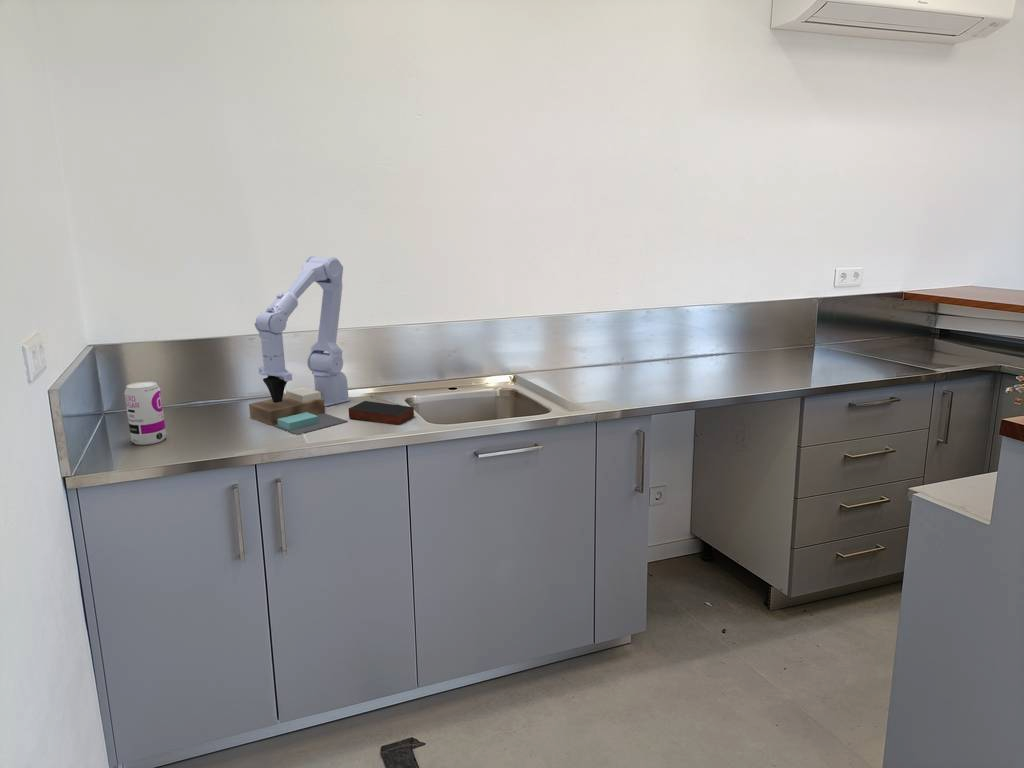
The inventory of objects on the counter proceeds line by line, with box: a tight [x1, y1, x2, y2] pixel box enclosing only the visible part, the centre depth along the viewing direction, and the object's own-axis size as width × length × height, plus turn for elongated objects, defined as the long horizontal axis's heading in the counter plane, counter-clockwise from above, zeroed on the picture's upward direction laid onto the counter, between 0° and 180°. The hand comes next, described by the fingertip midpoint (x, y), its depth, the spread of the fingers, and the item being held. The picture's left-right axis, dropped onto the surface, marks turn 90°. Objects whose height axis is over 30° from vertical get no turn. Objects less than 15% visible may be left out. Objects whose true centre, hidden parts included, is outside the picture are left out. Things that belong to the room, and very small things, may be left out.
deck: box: [248, 395, 326, 427], centre depth 210 cm, size 17×12×4 cm
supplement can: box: [124, 381, 167, 446], centre depth 187 cm, size 8×8×15 cm
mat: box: [272, 412, 349, 435], centre depth 202 cm, size 16×12×1 cm
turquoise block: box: [277, 412, 319, 430], centre depth 200 cm, size 9×6×2 cm, turn 137°
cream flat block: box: [285, 386, 321, 403], centre depth 214 cm, size 9×6×2 cm, turn 47°
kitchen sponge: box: [348, 395, 415, 426], centre depth 210 cm, size 19×3×15 cm
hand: (277, 401), depth 207 cm, fingers closed
